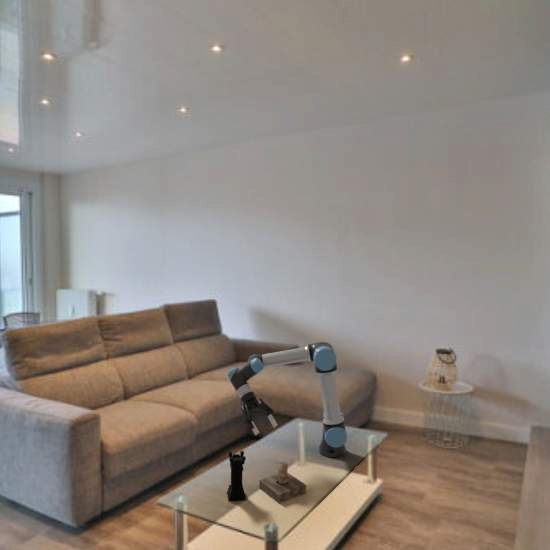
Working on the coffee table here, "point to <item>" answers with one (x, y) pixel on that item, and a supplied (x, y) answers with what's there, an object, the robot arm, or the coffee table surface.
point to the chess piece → (236, 477)
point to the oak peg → (282, 473)
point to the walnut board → (282, 488)
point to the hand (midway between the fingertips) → (266, 430)
